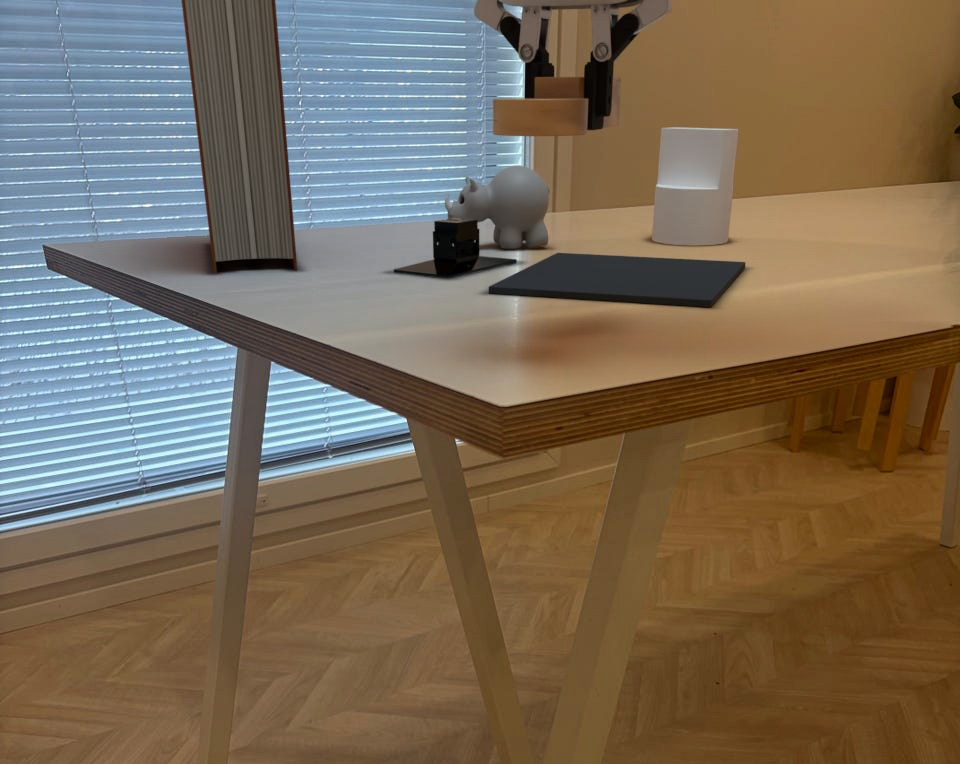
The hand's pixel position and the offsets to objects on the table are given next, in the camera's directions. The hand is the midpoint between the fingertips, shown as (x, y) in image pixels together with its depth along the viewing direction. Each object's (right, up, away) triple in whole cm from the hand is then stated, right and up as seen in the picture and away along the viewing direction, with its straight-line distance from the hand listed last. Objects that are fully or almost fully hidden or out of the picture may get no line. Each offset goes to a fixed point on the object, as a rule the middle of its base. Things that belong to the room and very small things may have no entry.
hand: (567, 126), depth 70 cm
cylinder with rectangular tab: (+19, +13, +53) cm, 58 cm away
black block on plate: (-8, +3, +36) cm, 37 cm away
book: (-31, +7, +43) cm, 54 cm away
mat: (+8, -1, +28) cm, 29 cm away
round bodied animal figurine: (-4, +10, +48) cm, 49 cm away
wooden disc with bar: (0, 0, 0) cm, 0 cm away
